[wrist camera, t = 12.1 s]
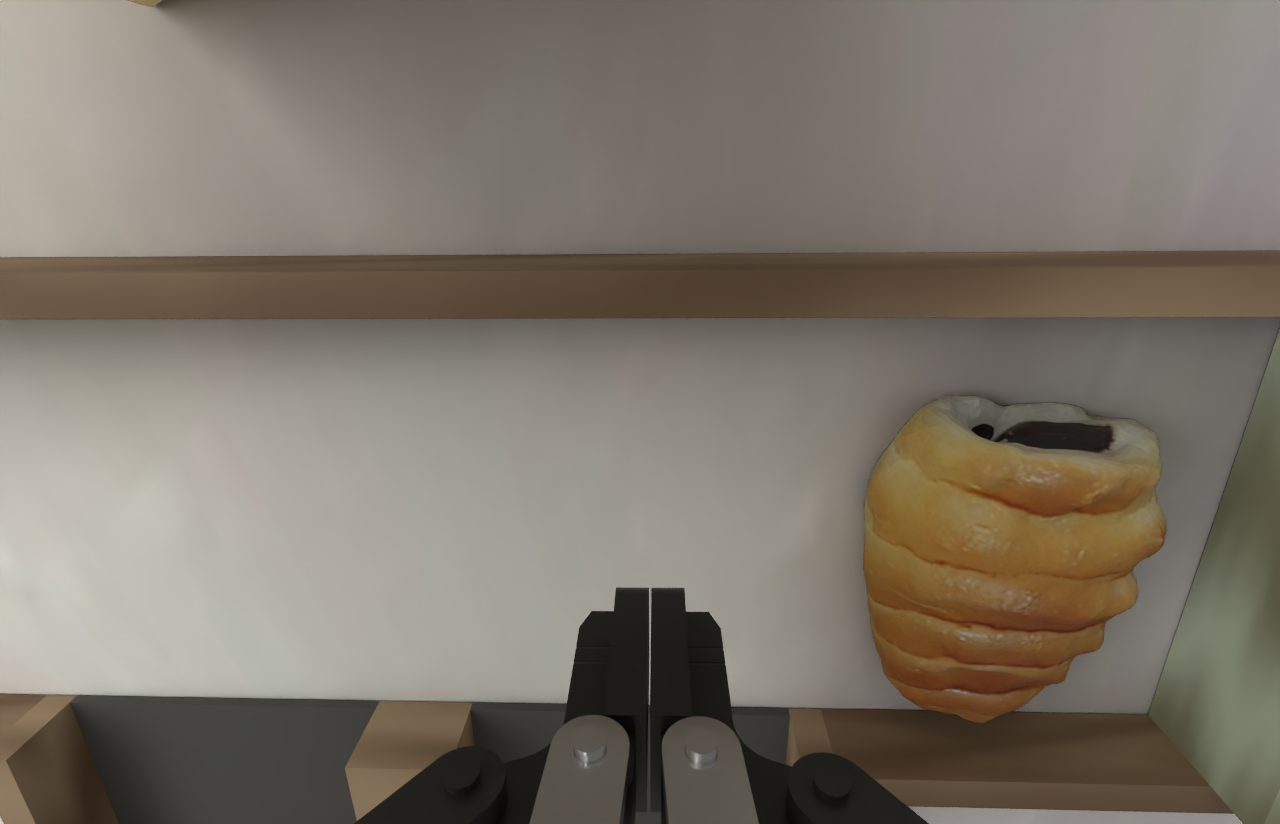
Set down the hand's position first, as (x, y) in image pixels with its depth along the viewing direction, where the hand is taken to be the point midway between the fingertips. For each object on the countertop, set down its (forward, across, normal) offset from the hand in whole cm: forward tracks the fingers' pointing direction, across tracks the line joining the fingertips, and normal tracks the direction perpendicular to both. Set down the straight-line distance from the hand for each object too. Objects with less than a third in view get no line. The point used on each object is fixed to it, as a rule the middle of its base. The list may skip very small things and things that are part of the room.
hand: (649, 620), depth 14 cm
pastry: (+5, -9, 0) cm, 10 cm away
